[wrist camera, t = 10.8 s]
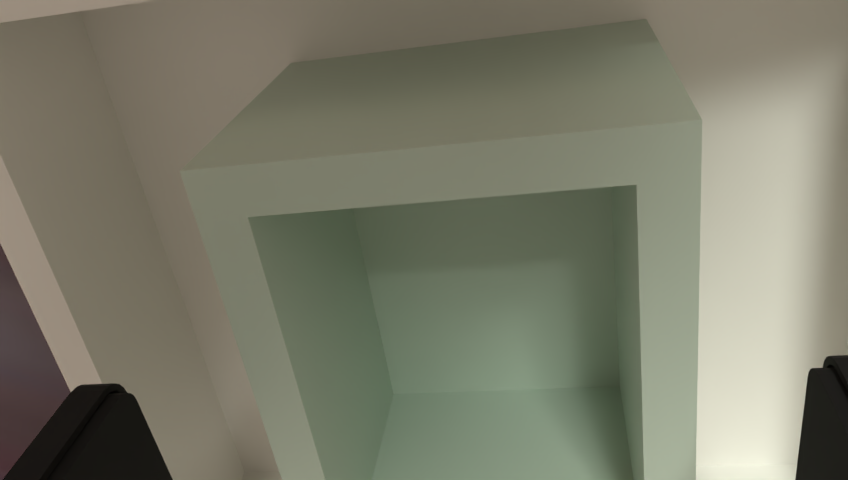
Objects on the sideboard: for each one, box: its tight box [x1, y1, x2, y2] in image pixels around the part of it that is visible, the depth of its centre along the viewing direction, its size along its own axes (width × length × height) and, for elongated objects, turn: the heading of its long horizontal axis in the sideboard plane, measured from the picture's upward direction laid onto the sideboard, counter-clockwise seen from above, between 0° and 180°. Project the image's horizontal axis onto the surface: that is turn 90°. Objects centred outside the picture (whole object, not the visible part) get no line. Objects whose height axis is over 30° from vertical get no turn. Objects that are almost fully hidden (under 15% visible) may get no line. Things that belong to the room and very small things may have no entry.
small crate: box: [180, 19, 702, 480], centre depth 14 cm, size 9×7×6 cm
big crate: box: [0, 0, 848, 480], centre depth 16 cm, size 15×17×4 cm
